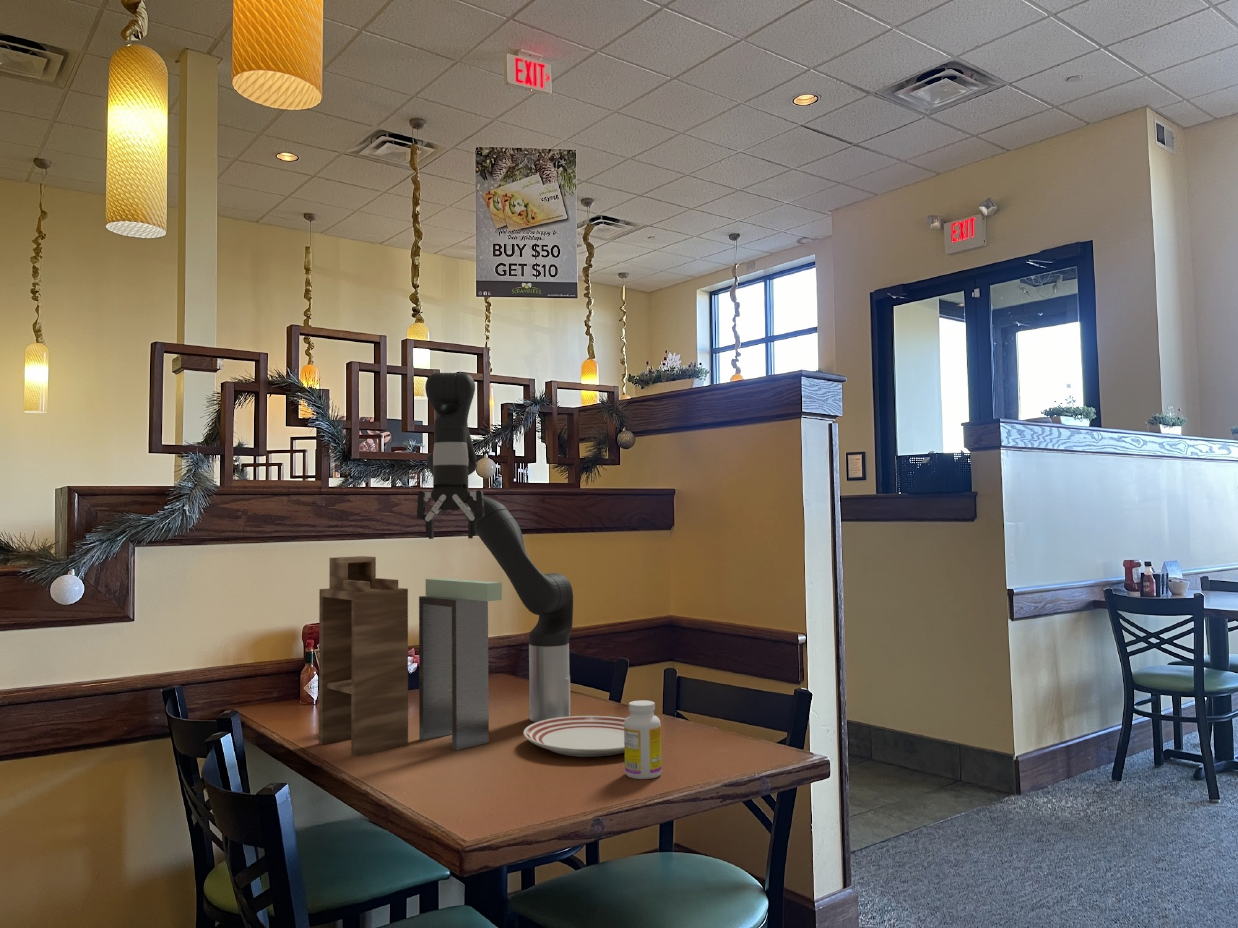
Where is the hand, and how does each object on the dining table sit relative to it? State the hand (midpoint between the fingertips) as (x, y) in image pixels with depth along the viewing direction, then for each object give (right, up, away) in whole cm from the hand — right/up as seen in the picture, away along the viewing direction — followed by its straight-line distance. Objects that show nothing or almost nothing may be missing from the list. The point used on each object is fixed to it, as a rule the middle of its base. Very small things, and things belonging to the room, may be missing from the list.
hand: (450, 538), depth 195 cm
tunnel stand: (-16, -42, -8) cm, 46 cm away
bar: (+4, -12, -7) cm, 14 cm away
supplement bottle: (+41, -40, -33) cm, 66 cm away
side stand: (+2, -42, -7) cm, 42 cm away
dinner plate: (+31, -42, -11) cm, 53 cm away
